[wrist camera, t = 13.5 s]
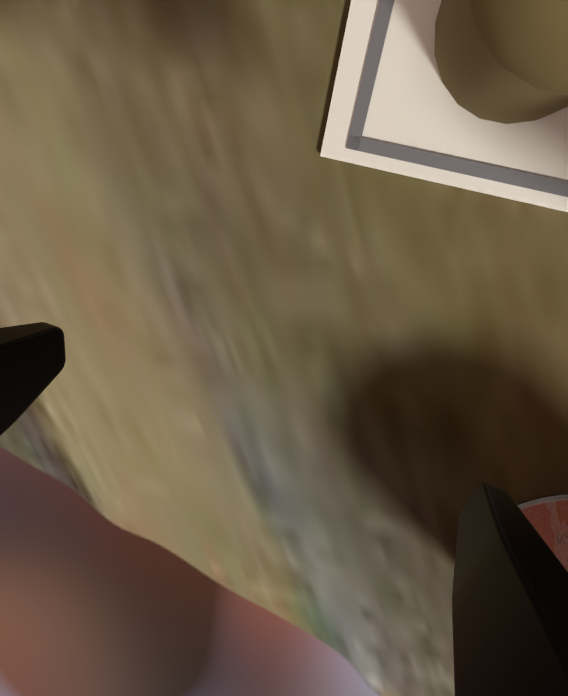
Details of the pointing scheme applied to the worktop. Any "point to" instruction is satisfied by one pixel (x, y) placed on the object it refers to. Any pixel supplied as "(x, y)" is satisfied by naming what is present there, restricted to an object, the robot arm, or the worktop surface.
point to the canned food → (550, 522)
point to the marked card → (432, 114)
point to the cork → (504, 57)
